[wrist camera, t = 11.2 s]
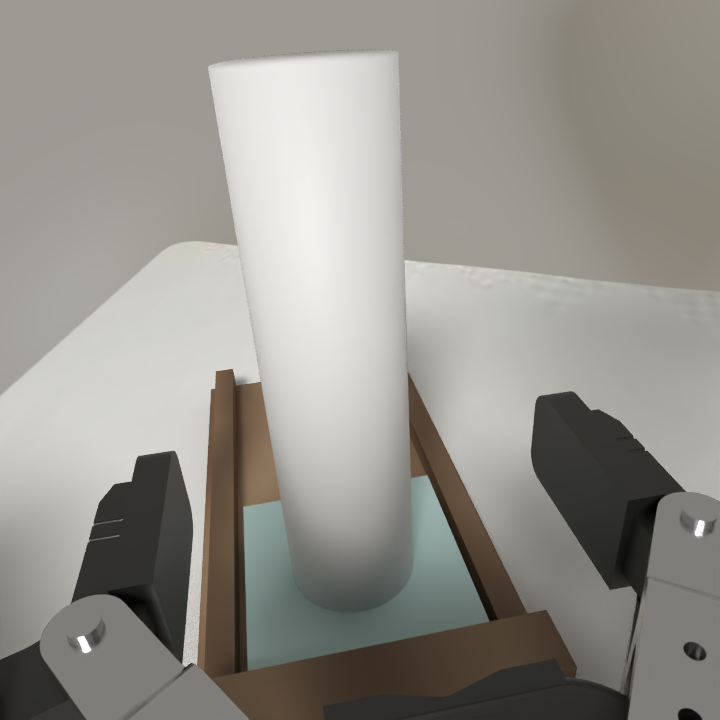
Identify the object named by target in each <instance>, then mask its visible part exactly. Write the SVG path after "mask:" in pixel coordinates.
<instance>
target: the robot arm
mask: <svg viewBox="0 0 720 720" xmlns="http://www.w3.org/2000/svg"><path fill="white" fill-rule="evenodd" d="M531 458H532V464H533V468H534V471H535V473H536V476H537V478H538V479H539V481H540V482H541V484H542V485H543V487H544V489H545V490H546V492H547V493H548V495H549V496H550V498H551V499H552V501H553V502H554V504H555V505H556V507H557V509H558V510H559V512H560V513H561V515H562V516H563V518H564V519H565V521H566V522H567V524H568V526H569V527H570V529H571V530H572V532H573V533H574V535H575V536H576V538H577V539H578V541H579V543H580V544H581V546H582V547H583V549H584V550H585V552H586V553H587V555H588V556H589V558H590V559H591V561H592V563H593V564H594V566H595V567H596V569H597V570H598V572H599V573H600V575H601V576H602V578H603V580H604V581H605V583H606V584H607V586H608V587H609V589H610V590H612V589H617V588H622V587H628V586H632V588H633V589H634V591H635V592H636V594H637V596H636V601H635V605H634V611H633V617H632V623H631V629H630V635H629V641H628V647H627V653H626V660H625V666H624V672H623V678H622V683H621V688H620V692H618V691H616V690H614V689H611V688H609V687H606V686H604V685H601V684H598V683H594V682H591V681H587V680H582V679H576V678H569V677H565V676H564V674H563V672H562V670H561V668H560V666H559V664H558V662H557V660H556V658H555V659H550V660H545V661H540V662H536V663H531V664H526V665H521V666H516V667H511V668H506V669H502V670H499V671H497V672H495V673H493V674H491V675H489V676H487V677H485V678H483V679H481V680H479V681H477V682H475V683H473V684H472V685H470V686H468V687H466V688H464V689H462V690H460V691H458V692H456V693H454V694H452V695H449V696H445V697H432V696H411V695H391V694H380V695H375V696H370V697H365V698H360V699H356V700H351V701H346V702H341V703H336V704H331V705H326V706H323V711H324V719H325V720H720V502H719V501H717V500H715V499H713V498H711V497H708V496H706V495H702V494H698V493H693V492H686V491H685V490H684V489H683V488H682V487H681V486H680V485H679V484H678V483H677V482H676V481H675V480H674V479H673V478H672V476H671V475H670V474H669V473H668V472H667V471H666V470H665V469H664V468H663V467H662V466H661V465H660V464H659V463H658V462H657V460H656V459H655V458H654V457H653V456H652V455H651V454H650V453H649V452H648V451H645V448H644V447H643V446H642V444H641V443H640V442H639V441H638V440H637V439H634V438H633V435H632V434H631V433H630V432H629V431H628V430H627V429H626V427H625V426H624V425H623V424H622V423H621V422H620V421H619V420H617V419H615V418H613V417H611V416H610V415H608V414H606V413H604V412H602V411H601V410H599V409H598V410H592V411H591V410H590V409H589V408H588V407H587V406H586V405H585V403H584V402H583V401H582V400H581V399H580V398H579V397H578V396H577V395H576V394H575V393H574V392H572V391H570V392H563V393H557V394H550V395H544V396H539V397H538V398H537V400H536V404H535V414H534V425H533V435H532V446H531ZM89 540H90V542H89V543H88V545H87V548H86V552H85V555H84V559H83V562H82V566H81V570H80V573H79V577H78V580H77V584H76V587H75V591H74V595H73V598H72V602H71V604H70V605H68V606H66V607H65V608H64V609H62V610H61V611H60V612H59V613H58V614H56V615H55V616H54V617H53V618H52V620H51V621H50V622H49V623H48V625H47V626H46V628H45V629H44V632H43V634H42V636H41V640H40V641H38V642H36V643H35V644H33V645H32V646H30V647H28V648H26V649H24V650H21V651H19V652H17V653H15V654H12V655H10V656H8V657H6V658H3V659H1V660H0V720H250V719H249V718H248V717H247V716H246V715H245V714H244V713H243V712H242V711H241V710H240V709H239V708H238V707H237V706H236V705H235V704H234V703H233V702H232V701H231V700H230V699H229V697H228V696H227V695H226V694H225V693H224V692H223V691H222V690H221V689H220V688H219V687H218V686H217V685H216V684H215V683H214V682H213V681H212V680H211V679H210V678H209V677H208V675H207V674H206V673H205V672H204V671H203V670H202V669H200V668H199V667H198V666H197V665H195V664H193V663H190V664H189V665H188V666H187V667H185V666H183V665H182V660H183V648H184V636H185V624H186V612H187V600H188V588H189V576H190V564H191V552H192V540H193V520H192V512H191V507H190V502H189V499H188V495H187V491H186V487H185V483H184V479H183V476H182V472H181V468H180V464H179V460H178V457H177V454H176V452H175V451H169V452H162V453H156V454H149V455H143V456H138V457H137V460H136V464H135V468H134V473H133V477H132V482H125V483H119V484H114V485H113V486H112V488H111V489H110V490H109V491H108V493H107V494H106V495H105V496H104V498H103V499H102V500H101V501H100V503H99V505H98V509H97V512H96V516H95V520H94V526H93V527H92V530H91V534H90V537H89Z"/></svg>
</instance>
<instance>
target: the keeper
mask: <svg viewBox="0 0 720 720" xmlns="http://www.w3.org/2000/svg"><path fill="white" fill-rule="evenodd" d="M398 62H399V61H398V52H397V51H393V50H336V51H319V52H304V53H292V54H281V55H271V56H261V57H253V58H245V59H238V60H232V61H226V62H221V63H216V64H212V65H210V66H209V67H208V70H209V76H210V82H211V88H212V93H213V100H214V106H215V111H216V117H217V123H218V129H219V135H220V141H221V147H222V153H223V159H224V165H225V171H226V177H227V183H228V188H229V194H230V201H231V207H232V212H233V218H234V224H235V230H236V236H237V242H238V248H239V254H240V260H241V266H242V272H243V278H244V284H245V290H246V296H247V302H248V308H249V314H250V320H251V326H252V332H253V338H254V343H255V349H256V355H257V361H258V367H259V373H260V379H261V385H262V391H263V397H264V403H265V409H266V415H267V421H268V427H269V433H270V439H271V445H272V451H273V457H274V462H275V468H276V474H277V480H278V486H279V492H280V498H281V500H280V501H274V502H269V503H263V504H257V505H251V506H245V507H243V509H244V547H245V584H246V622H247V660H248V671H250V670H255V669H260V668H265V667H270V666H275V665H280V664H285V663H289V662H294V661H299V660H304V659H309V658H314V657H319V656H324V655H329V654H333V653H338V652H343V651H348V650H353V649H358V648H363V647H368V646H373V645H377V644H382V643H387V642H392V641H397V640H402V639H407V638H412V637H417V636H422V635H426V634H431V633H436V632H441V631H446V630H451V629H456V628H461V627H466V626H470V625H475V624H480V623H485V622H490V621H489V619H488V617H487V614H486V612H485V610H484V607H483V605H482V603H481V600H480V598H479V595H478V593H477V591H476V588H475V586H474V584H473V581H472V579H471V577H470V574H469V572H468V570H467V567H466V565H465V562H464V560H463V558H462V555H461V553H460V551H459V548H458V546H457V544H456V541H455V539H454V537H453V534H452V532H451V530H450V527H449V525H448V522H447V520H446V518H445V515H444V513H443V511H442V508H441V506H440V504H439V501H438V499H437V497H436V494H435V492H434V489H433V487H432V485H431V482H430V480H429V478H428V475H426V476H420V477H414V478H411V468H410V434H409V400H408V366H407V332H406V298H405V264H404V232H403V231H404V230H403V201H402V199H403V198H402V164H401V128H400V95H399V63H398Z"/></svg>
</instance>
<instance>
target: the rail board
mask: <svg viewBox="0 0 720 720" xmlns="http://www.w3.org/2000/svg"><path fill="white" fill-rule="evenodd" d="M408 400H409V434H410V468H411V478H414V477H420V476H426V475H428V478H429V480H430V482H431V485H432V487H433V489H434V492H435V494H436V497H437V499H438V501H439V504H440V506H441V508H442V511H443V513H444V515H445V518H446V520H447V522H448V525H449V527H450V530H451V532H452V534H453V537H454V539H455V541H456V544H457V546H458V548H459V551H460V553H461V555H462V558H463V560H464V562H465V565H466V567H467V570H468V572H469V574H470V577H471V579H472V581H473V584H474V586H475V588H476V591H477V593H478V595H479V598H480V600H481V603H482V605H483V607H484V610H485V612H486V614H487V617H488V619H489V621H490V622H485V623H480V624H475V625H470V626H466V627H461V628H456V629H451V630H446V631H441V632H436V633H431V634H426V635H422V636H417V637H412V638H407V639H402V640H397V641H392V642H387V643H382V644H377V645H373V646H368V647H363V648H358V649H353V650H348V651H343V652H338V653H333V654H329V655H324V656H319V657H314V658H309V659H304V660H299V661H294V662H289V663H285V664H280V665H275V666H270V667H265V668H260V669H255V670H250V671H248V660H247V622H246V584H245V547H244V509H243V507H245V506H251V505H257V504H263V503H269V502H274V501H280V500H281V498H280V492H279V486H278V480H277V474H276V468H275V462H274V457H273V451H272V445H271V439H270V433H269V427H268V421H267V415H266V409H265V403H264V397H263V391H262V385H261V382H258V383H252V384H245V385H238V386H236V383H235V378H234V373H233V369H229V370H222V371H216V384H215V389H211V404H210V424H209V444H208V464H207V484H206V504H205V524H204V543H203V563H202V583H201V603H200V623H199V643H198V663H197V666H198V667H199V668H200V669H202V670H203V671H204V672H205V673H206V674H207V675H208V677H209V678H210V679H211V680H212V681H213V682H214V683H215V684H216V685H217V686H218V687H219V688H220V689H221V690H222V691H223V692H224V693H225V694H226V695H227V696H228V697H229V699H230V700H231V701H232V702H233V703H234V704H235V705H236V706H237V707H238V708H239V709H240V710H241V711H242V712H243V713H244V714H245V715H246V716H247V717H248V718H249V719H250V720H325V719H324V711H323V706H326V705H331V704H336V703H341V702H346V701H351V700H356V699H360V698H365V697H370V696H375V695H380V694H391V695H411V696H432V697H445V696H449V695H452V694H454V693H456V692H458V691H460V690H462V689H464V688H466V687H468V686H470V685H472V684H473V683H475V682H477V681H479V680H481V679H483V678H485V677H487V676H489V675H491V674H493V673H495V672H497V671H499V670H502V669H506V668H511V667H516V666H521V665H526V664H531V663H536V662H540V661H545V660H550V659H555V658H556V660H557V662H558V664H559V666H560V668H561V670H562V672H563V674H564V676H565V677H569V678H575V676H576V670H577V667H576V665H575V663H574V661H573V659H572V657H571V655H570V654H569V652H568V650H567V648H566V646H565V644H564V642H563V640H562V638H561V637H560V635H559V633H558V631H557V629H556V627H555V625H554V623H553V621H552V619H551V618H550V616H549V614H548V612H547V610H544V611H539V612H534V613H529V614H527V612H526V610H525V608H524V606H523V604H522V602H521V600H520V598H519V596H518V594H517V592H516V590H515V588H514V586H513V584H512V582H511V580H510V578H509V576H508V574H507V572H506V570H505V568H504V566H503V564H502V562H501V560H500V558H499V556H498V554H497V552H496V550H495V548H494V545H493V543H492V541H491V539H490V537H489V535H488V533H487V531H486V529H485V527H484V525H483V523H482V521H481V519H480V517H479V515H478V513H477V511H476V509H475V507H474V505H473V503H472V501H471V499H470V497H469V495H468V493H467V491H466V489H465V487H464V485H463V483H462V480H461V478H460V476H459V474H458V472H457V470H456V468H455V466H454V464H453V462H452V460H451V458H450V456H449V454H448V452H447V450H446V448H445V446H444V444H443V442H442V440H441V438H440V436H439V434H438V432H437V430H436V428H435V426H434V424H433V422H432V420H431V418H430V415H429V413H428V411H427V409H426V407H425V405H424V403H423V401H422V399H421V397H420V395H419V393H418V391H417V389H416V387H415V385H414V383H413V381H412V379H411V377H410V375H409V373H408Z"/></svg>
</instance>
